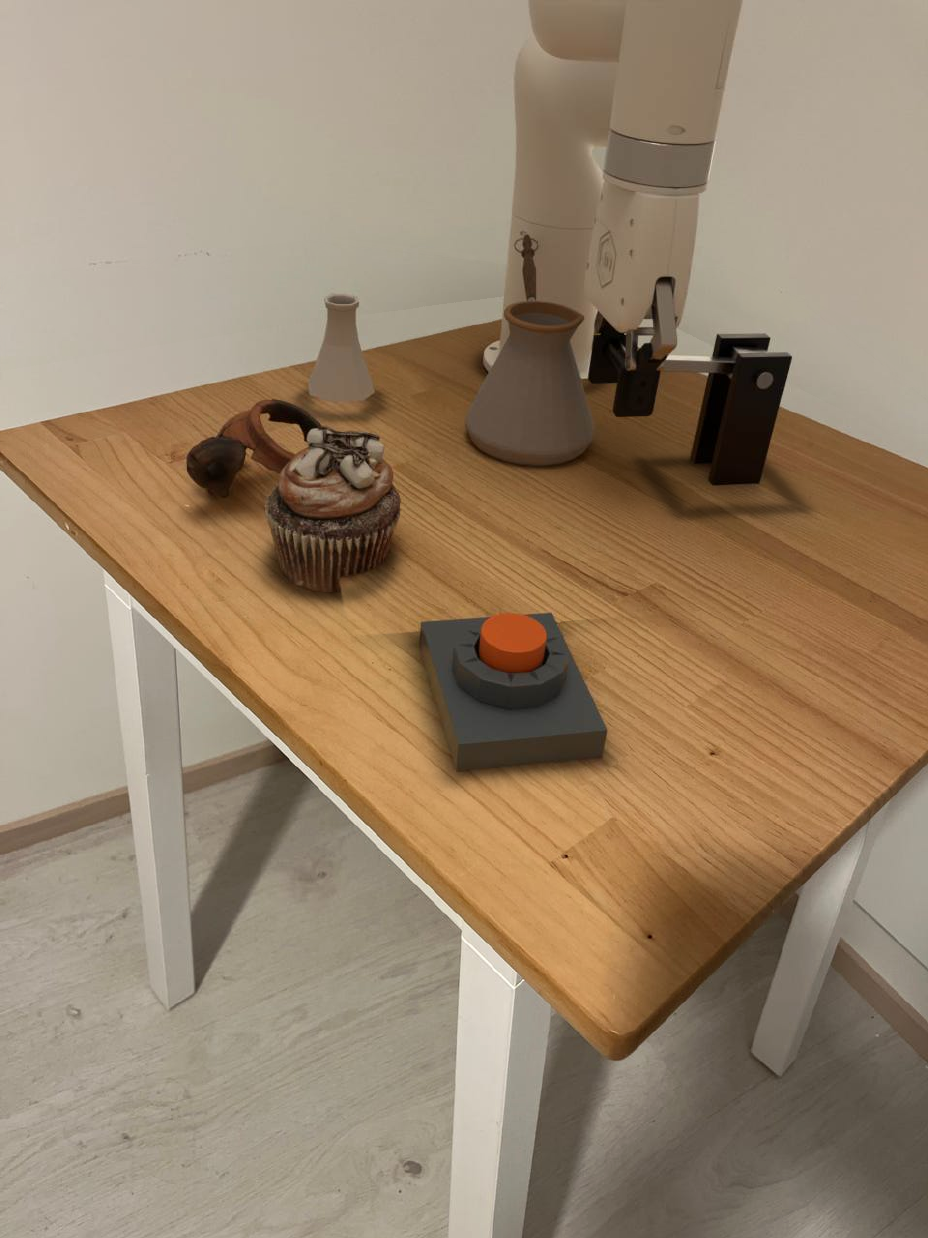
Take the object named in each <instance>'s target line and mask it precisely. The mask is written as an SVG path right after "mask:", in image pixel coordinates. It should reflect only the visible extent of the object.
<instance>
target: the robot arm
mask: <svg viewBox="0 0 928 1238" xmlns="http://www.w3.org/2000/svg"><path fill="white" fill-rule="evenodd" d="M527 1H528V12H529V13H528V14H529V19H530V24H531V29H532V33H533V35H531V36H530V37H529V38H527V40H525V42H524V43H523V44H522V46H521V48H520V50H519V52H518V54H517V57H516V61H515V65H514V73H513V74H514V75H513V95H514V97H513V98H514V120H515V165H514V182H513V194H512V203H511V204H512V205H511V206H512V207H511V216H510V217H511V218H510V230H509V237H508V238H509V239H508V249H507V250H508V251H507V259H506V272H505V281H504V283H505V284H504V293H503V305H502V313H501V314H502V315H501V325H500V335H499V340H496V341H494V342H492V343H490V344H489V345H488V346H486V348H485V349H484V350H483V359H482V362H483V366H484V368H485V370H486V371H487V372H488V373H489V371H490V369H491V368H492V366H493V364H494V362H495V360H496V359H497V357H498V355H499V353H500V351H501V349H502V348H503V346H504V344H505V342H506V340H507V339H508V337H509V335H510V331H509V323H508V321H507V320H506V319H505V317H504V310H505V308H506V307H507V306H509V305H511V304H513V303H518V302H524V301H527V300H526V293H525V286H524V279H523V273H522V269H523V262H524V258H523V257H522V256H521V253H519V252H518V251H517V250H515V246H516V248H517V249H518V250H519V251H522V250H523V249H524V247H523V244H522V243H523V240H520V241H518V242H517V243H516V245H515V246H514V244H515V242H516V240H518V239H520V238H524V236H525V235H529V236H530V238H533V239H535V240H536V241H537V242H538V248H537V250H536V251H535V252H534V253H535V254H534V257H533V261H534V264H535V267H536V301H543V302H551V303H556V304H560V305H563V306H567V307H569V308H571V309H573V310H575V311H577V312H579V313H580V314H581V315H583V316H584V318H585V319H584V320H583V322H582V323H581V324H580V325H579V326H578V328H577V330H576V331H575V333H574V335H573V336H572V338H571V339H570V343H571V346H572V350H573V353H574V357H575V360H576V364H577V367H578V371H579V374H580V378H581V380H588V381H589V382H590V384H592V385H593V384H594V385H598V384H599V385H602V384H604V385H605V384H616V386H615V391H614V392H615V393H614V397H613V404H612V413H613V414H614V416H615V417H617V418H630V417H633V418H634V417H635V418H636V417H650V416H652V415H653V413H654V409H655V404H656V399H657V393H658V388H659V383H660V376H661V372H662V371H661V370H663V368H664V364H665V360H666V359H667V357H668V355H670V354H671V353H672V352H673V351H674V350H675V349H676V348H677V346H678V333H677V329H678V328H679V326H680V325H681V322H682V319H683V316H684V311H685V308H686V307H685V306H686V304H687V303H686V302H687V298H688V292H689V287H690V281H691V275H692V268H693V261H694V255H695V254H694V253H695V247H696V239H697V229H698V218H699V206H700V194H702V193H704V192H706V191H707V189H708V184H709V180H710V175H711V170H712V164H713V158H714V154H715V149H716V143H717V136H718V132H719V126H720V121H721V115H722V111H723V106H724V99H725V94H726V89H727V86H728V85H727V84H728V79H729V76H730V75H729V74H730V71H731V70H730V69H731V63H732V59H733V54H734V48H735V43H736V40H737V39H736V38H737V33H738V29H739V23H740V18H741V13H742V8H743V3H744V0H527ZM601 147H602V148H605V147H606V149H605V156H604V161H603V170H602V168H600V166H599V165H598V163H597V162H596V160H595V158H594V155H593V150H594V149H595V148H601ZM531 242H532V246H531V248H532V249H533V250H534V249H536V247H537V243H536V242H535V241H533V240H531ZM644 320H652V326H640V325H641V324H642V322H643V321H644ZM594 333H595V334H594ZM639 336H640V337H641V336H643V337H645V336H646V337H647V336H649V337H651V336H652V337H651V339H650V341H649V342H644V343H643V344H642V345H641V346H640V347H639ZM611 339H617V340H619V341H620V342H621V343H622V344H623V345H624V347H625V348H626V349H625V366H620V367H619V373H618V372H617V371H616V370H615V369H614V367H613V366H612V365H611V364H610V362H609V361H608V360H607V359H606V357H605V356H604V355H603V346H604V344H605V343H606V342H607V341H609V340H611ZM638 348H639V349H638Z"/></svg>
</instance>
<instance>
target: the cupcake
mask: <svg viewBox="0 0 928 1238" xmlns="http://www.w3.org/2000/svg"><path fill="white" fill-rule="evenodd" d="M380 438H381V437H380V436H379V435H377V434H375V433H372V432H366V431H357V430H347V431H339V430H335V429H333V428H331V427H329V426H327V425H322V426H321V427H320V428H319V429H315V428H314V429H312V430H310V432H309V433H308V436H307V442H306V444H307V445H308V446H307V447H305V448H303V449H302V450H299V451H298V452H297V453H295V455H294V456H293V457H292V458H291V460H290V462H288V463H287V465H286V466H285V467H284V468H283V470H282V471H281V473H280V474H278V475H279V476H278V481H277V486H275V488H274V489H273V490H272V491H271V492H270V494H267V499H265V501H266V503H264V504H263V505H264V508H265V509H264V513H265V518H266V520H267V523H268V527H269V529H270V534H271V537H272V542H273V545H274V549H275V553H276V556H277V561H278V565H279V569H280V572H281V573H282V575H283V576H285V578H286V579H287V580H288V581H289V582H292V583H293V584H294V585H295V586H296V585H297V586H298V587H302V588H306V589H307V590H311V591H315V592H322V593H333V592H338V593H340V592H341V593H342V588H341V587H342V586H341V583H340V580H339V579H340V578H341V577H345V578H347V577H349V576H356V575H357V574H361V575H362V574H364V573H365V572H370V569H375V568H376V566H378V565H380V564H381V563H382V562H384V559H386V558H387V557H388V553H389V551H390V550H389V549H390V546H391V543H392V540H393V535H394V533H395V531H396V528H397V526H398V524H399V523H398V522H399V521H400V517H401V503H402V499H401V496H400V493H399V491H398V490H397V489H396V487H395V485H394V483H393V481H394V470H393V468H392V466H391V465H390V464H389V463H388V462H387V460H385V458H383V456H384V452H385V445H384V444H383V443H382V442H381V441H380Z"/></svg>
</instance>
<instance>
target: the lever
mask: <svg viewBox="0 0 928 1238" xmlns="http://www.w3.org/2000/svg"><path fill="white" fill-rule="evenodd" d="M625 349H626V348H625V347H624V345H623V344H622V343H621V342H620V341H619V340H617V339H611V340H609V341H607V342H606V343H605V344H604V346H603V355H604V356H605V357H606V359H607V360H608V361H609V362H610V364H611V365H612V366H613V367H614V369H615V370H616V371H617V372H618V373H619V367H620V366H625ZM766 352H768V351H766V350H765V349H763V348H754V347H732V350H731V353H730V357H712V356H702V355H676V354H675V355H673V354H672V355H670V354H669V355H668V357H667V359H666V360H665V364H664V368H663V370H661V372H662V373H663V372H665V373H666V372H669V373H696V374H697V373H701V374H703V373H704V374H708V373H725V374H726V375H727V376H728V377H729V378H730V379H731V378H732V373H733V369H734V364H735V360H736V356H737V353H766Z"/></svg>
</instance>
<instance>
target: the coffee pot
mask: <svg viewBox="0 0 928 1238" xmlns="http://www.w3.org/2000/svg"><path fill="white" fill-rule="evenodd" d="M520 240H523V243H522V244H523V247H524V249H523V250H522V251H519V250H518V249H517V248H516V246H515V245H516V243H517V242H518V241H520ZM531 240H533V241H535V242H536V243H537V247H536V249H534V250H533V249H532V248H531V246H532V242H531ZM514 246H515V250H517V251H518V252H519V253H521V256H522V257H523V258H524V262H523V269H522V273H523V279H524V286H525V293H526V300H527V301H524V302H518V303H513V304H511V305H509V306H507V307H506V308H505V310H504V317H505V319H506V320H507V321H508V323H509V331H510V335H509V337H508V339H507V340H506V342H505V344H504V346H503V348H502V349H501V351H500V353H499V355H498V357H497V359H496V360H495V362H494V364H493V366H492V368H491V369H490V371H489V372H488V373H487V375H486V377H485V379H484V380H483V381H482V384H481V385H480V386H479V387H480V388H479V389H478V391H477V393H476V395H475V397H474V398H473V400H472V402H471V403H470V406H469V407H468V409H467V411H466V414H465V419H464V425H465V428H466V430H467V433H468V436H469V438H470V441H471V442H472V443H473V444H474V445H475V446H476V447H477V448H478V449H479V450H480V451H481V452H483V453H485V454H486V455H488V456H489V457H492V458H495V459H497V460H500V461H502V462H506V463H510V464H515V465H519V466H520V465H522V466H531V467H548V466H550V467H551V466H554V465H560V464H561V465H562V464H565V463H568V462H570V461H573V460H575V459H576V458H578V457H579V456H580V455H582V454H584V453H585V451H586V450H587V448H588V447H589V446H590V444H591V442H592V441H593V439H594V438H595V423H594V420H593V416H592V412H591V409H590V406H589V403H588V399H587V395H586V391H585V389H584V385H583V382H582V379H581V378H580V374H579V371H578V367H577V364H576V360H575V357H574V353H573V350H572V346H571V343H570V339H571V338H572V336H573V335H574V333H575V331H576V330H577V328H578V326H579V325H580V324H581V323H582V322H583V320H584V319H585V318H584V316H583V315H581V314H580V313H579V312H577V311H575V310H573V309H571V308H569V307H567V306H563V305H560V304H556V303H551V302H543V301H536V267H535V264H534V261H533V257H534V254H535V253H534V252H535V251H536V250H537V248H538V242H537V241H536V240H535V239H533V238H530V236H529V235H525V236H524V238H520V239H518V240H516V242H515V244H514Z"/></svg>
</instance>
